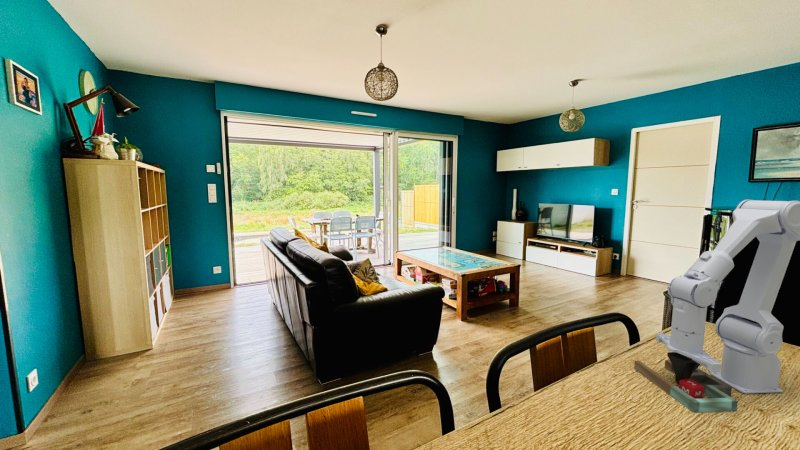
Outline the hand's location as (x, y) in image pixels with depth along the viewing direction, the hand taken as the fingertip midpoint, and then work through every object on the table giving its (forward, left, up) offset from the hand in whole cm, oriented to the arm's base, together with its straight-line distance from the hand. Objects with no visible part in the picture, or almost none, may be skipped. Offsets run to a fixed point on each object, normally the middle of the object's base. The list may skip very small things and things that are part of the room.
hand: (682, 384), depth 76 cm
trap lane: (-2, -1, -1) cm, 2 cm away
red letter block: (0, +2, -1) cm, 3 cm away
